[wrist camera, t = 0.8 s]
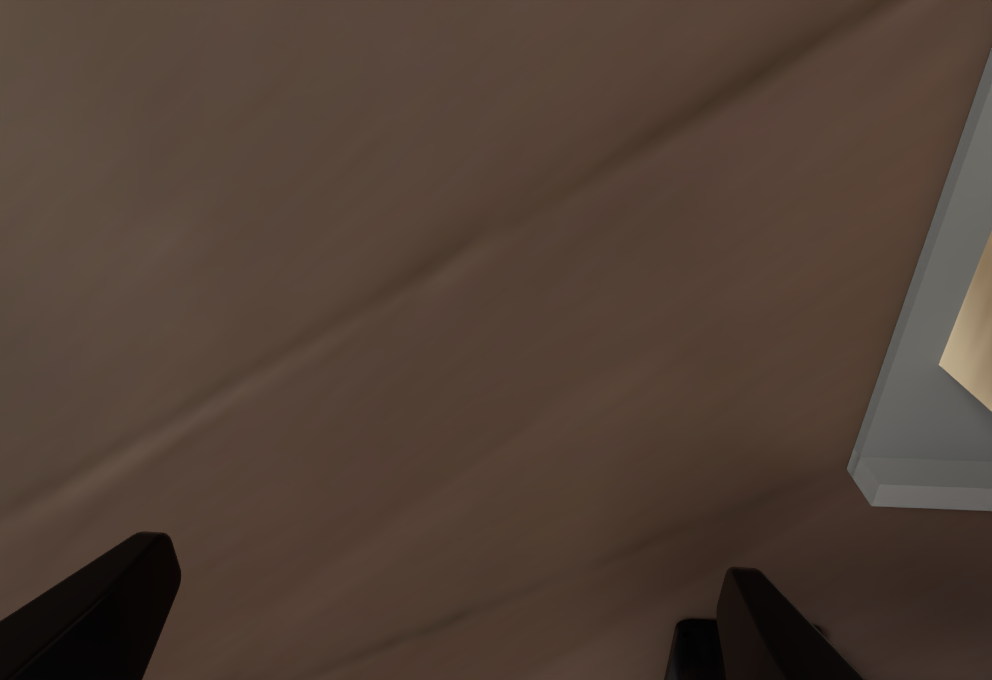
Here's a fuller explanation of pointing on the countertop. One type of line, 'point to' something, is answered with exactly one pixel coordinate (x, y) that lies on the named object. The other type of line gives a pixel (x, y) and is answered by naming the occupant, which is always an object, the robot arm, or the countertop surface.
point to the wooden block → (974, 335)
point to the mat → (935, 354)
